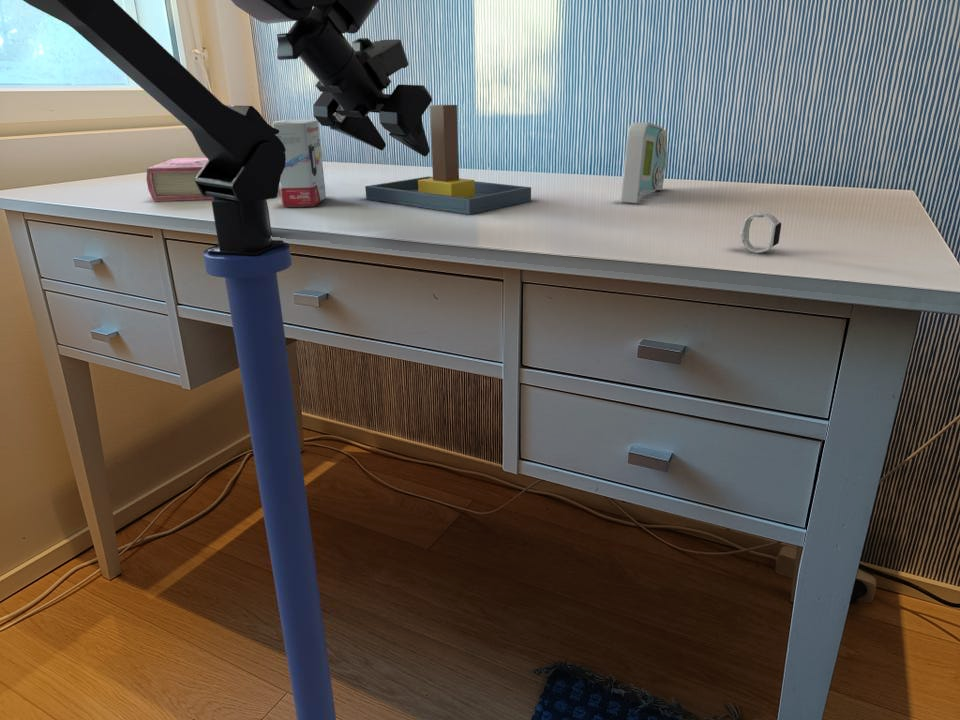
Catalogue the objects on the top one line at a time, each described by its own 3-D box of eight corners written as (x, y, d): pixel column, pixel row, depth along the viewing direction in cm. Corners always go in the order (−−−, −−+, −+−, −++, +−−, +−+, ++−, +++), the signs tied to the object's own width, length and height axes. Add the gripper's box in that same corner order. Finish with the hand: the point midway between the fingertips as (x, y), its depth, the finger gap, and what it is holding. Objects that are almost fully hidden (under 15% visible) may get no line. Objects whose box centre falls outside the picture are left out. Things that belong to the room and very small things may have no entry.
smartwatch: (735, 251, 71) (741, 212, 69) (742, 247, 72) (748, 209, 71) (771, 256, 69) (778, 216, 67) (778, 252, 70) (784, 212, 69)
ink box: (314, 207, 100) (305, 121, 95) (280, 207, 100) (270, 122, 95) (327, 197, 108) (319, 118, 103) (296, 198, 108) (287, 118, 103)
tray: (531, 200, 102) (531, 187, 101) (469, 214, 92) (469, 199, 92) (428, 188, 115) (428, 176, 114) (366, 199, 106) (365, 186, 105)
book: (175, 187, 121) (169, 158, 119) (263, 185, 122) (259, 156, 120) (147, 201, 107) (141, 168, 105) (247, 198, 109) (242, 165, 107)
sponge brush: (451, 201, 100) (449, 106, 95) (418, 196, 104) (414, 105, 99) (474, 196, 103) (473, 104, 98) (441, 192, 107) (438, 104, 102)
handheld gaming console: (664, 202, 110) (638, 204, 97) (646, 201, 111) (619, 202, 99) (672, 129, 107) (647, 121, 94) (654, 129, 108) (627, 120, 96)
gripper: (419, 10, 79) (482, 109, 91) (325, 15, 91) (392, 103, 103) (368, 83, 77) (439, 175, 89) (278, 79, 89) (352, 161, 100)
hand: (404, 150), depth 95 cm, fingers open, 9 cm apart
